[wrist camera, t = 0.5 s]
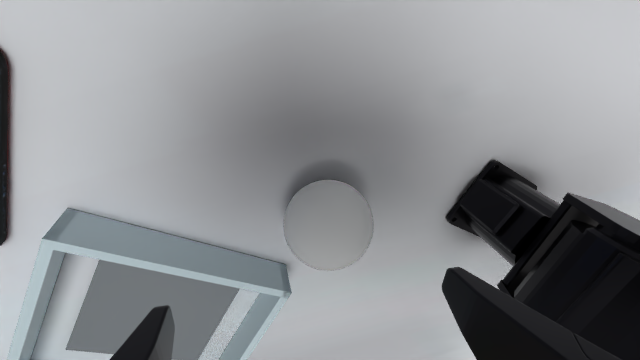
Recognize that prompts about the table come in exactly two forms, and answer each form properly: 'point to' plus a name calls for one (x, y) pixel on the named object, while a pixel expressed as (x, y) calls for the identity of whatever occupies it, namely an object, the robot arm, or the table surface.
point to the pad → (147, 309)
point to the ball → (328, 225)
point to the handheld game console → (3, 145)
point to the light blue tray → (153, 254)
